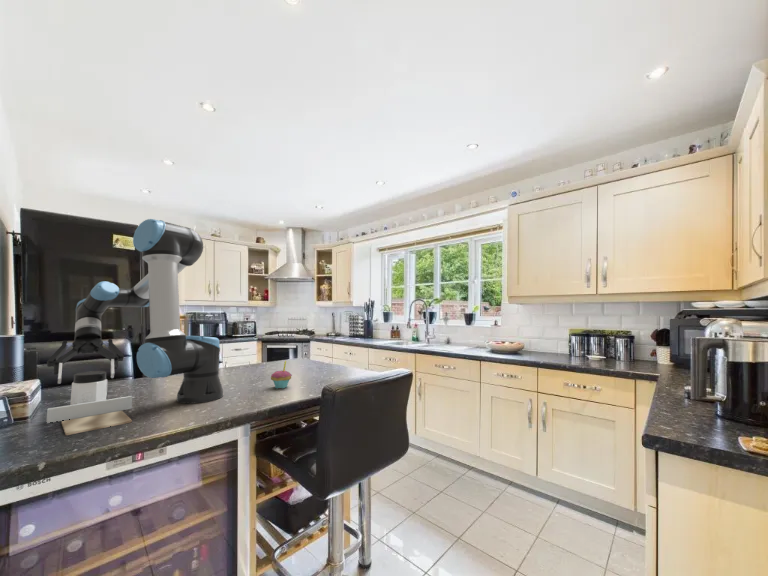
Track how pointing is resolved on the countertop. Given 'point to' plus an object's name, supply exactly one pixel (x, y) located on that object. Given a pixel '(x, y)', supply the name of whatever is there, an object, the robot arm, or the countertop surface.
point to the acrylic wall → (88, 409)
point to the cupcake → (281, 378)
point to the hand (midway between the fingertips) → (87, 378)
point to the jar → (89, 387)
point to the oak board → (95, 422)
